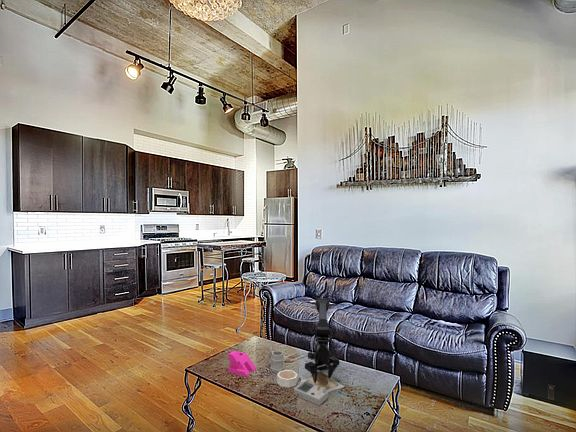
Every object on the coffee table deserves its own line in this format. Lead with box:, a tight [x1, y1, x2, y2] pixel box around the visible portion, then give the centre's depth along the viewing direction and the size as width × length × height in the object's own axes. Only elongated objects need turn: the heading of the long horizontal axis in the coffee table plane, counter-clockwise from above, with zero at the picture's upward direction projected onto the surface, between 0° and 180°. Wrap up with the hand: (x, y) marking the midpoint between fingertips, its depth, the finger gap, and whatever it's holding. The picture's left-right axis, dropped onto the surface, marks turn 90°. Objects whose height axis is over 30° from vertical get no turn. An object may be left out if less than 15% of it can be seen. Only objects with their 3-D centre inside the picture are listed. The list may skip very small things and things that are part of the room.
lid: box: [306, 370, 339, 390], centre depth 168 cm, size 12×12×5 cm
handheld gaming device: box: [293, 381, 329, 407], centre depth 156 cm, size 9×15×4 cm, turn 51°
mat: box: [300, 374, 345, 393], centre depth 168 cm, size 16×16×1 cm
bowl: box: [276, 369, 299, 388], centre depth 169 cm, size 10×10×4 cm
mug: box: [266, 345, 285, 374], centre depth 184 cm, size 8×12×12 cm, turn 47°
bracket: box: [227, 350, 257, 378], centre depth 182 cm, size 12×10×10 cm
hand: (322, 380), depth 168 cm, fingers open, 9 cm apart
